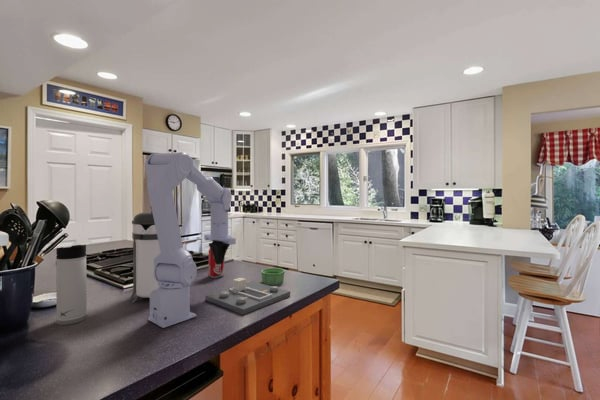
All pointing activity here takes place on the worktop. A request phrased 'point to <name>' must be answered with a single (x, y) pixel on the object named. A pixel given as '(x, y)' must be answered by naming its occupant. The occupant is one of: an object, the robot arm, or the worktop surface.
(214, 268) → the soda can
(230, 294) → the console panel
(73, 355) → the worktop surface
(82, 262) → the travel mug
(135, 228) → the coffee press
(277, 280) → the ramekin
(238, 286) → the fader tab
